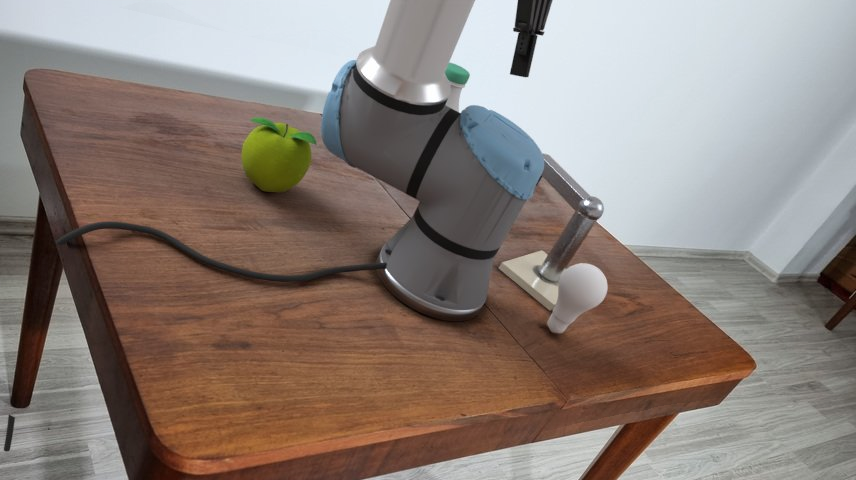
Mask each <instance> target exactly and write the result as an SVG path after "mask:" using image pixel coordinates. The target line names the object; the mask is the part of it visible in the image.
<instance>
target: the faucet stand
mask: <svg viewBox="0 0 856 480" xmlns="http://www.w3.org/2000/svg"><path fill="white" fill-rule="evenodd" d="M547 256H548V253H546V252H545V251H544V250H542V249H540V250H538V251H534V252H531V253H529V254H525V255H522V256H518V257H515V258H512V259H509V260H504V261H502V262H501V263H500V265H499V267H498V270H499V271H501V272H502V273H503V274H504V275H506V276H507V277H508V278H509V279H511V280H512V281H513V282H514V283H515V284H517V285H518V286H519V287H520V288H522V290H524V291H525V292H526V293H528V295H530V296H531V297H532V298H534V299H535V301H537V302H539V303H540V305H542V306H543V307H545V309H547V310H548V311H553V308H554V306H555V304H556V302H557V299H558V287H559V280H560V277H561V276H560V277H559V279H558V280H557V281H551V280H548V279H546V278H545V277H543V276H542V275H541V274H540V272H539V268H540V267H541V265H542V264H543V262H544V260H545V259H546V257H547ZM566 269H567V268H565V270H566ZM565 270H564V271H565ZM564 271H563V272H564ZM562 274H563V273H562ZM562 274H561V275H562Z"/></svg>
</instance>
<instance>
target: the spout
mask: <svg viewBox="0 0 856 480" xmlns="http://www.w3.org/2000/svg"><path fill="white" fill-rule="evenodd" d="M542 155H543V158H544V169H543V172H542V174H541V176H540V178H539V180H538V182H537V184H536V186H535V187H538V185H539V184H540V182H541V180H542V178H543V179H544V180H545V181H546V182H547V183H548V184H549V185H550V186H551V187H552V188H553V189H554V190H555V192H557V194H558V195H560V196H561V198H562V199H563V200H564V201H565V202H566V203H567V204H568V205H569V206H570V207H571V208H572V209H573V210H574V213H573V214H572V216H571V217H570V219H569V221H568V222H567V224H566V226H565V227H564V229H563V230H562V231H561V234H560V235H559V236H558V237H557V240H556V241H555V243H554V245H553V246H552V247H551V249H550V250H549V252H548V253H547V255H548V256H547V257H546V259H545V260H544V262H543V264H542V265H541V267H540V268H539V272H540V274H541V275H542V276H543V277H545V278H546V279H548V280H551V281H557V280H558V279H559V277H560V276H561V274H562V273H563V271H564V270H565V269H567V268H568V265H569V264H570V262H571V261H572V259H573V258H574V256H575V254H576V253H577V252H578V250H579V248H580V247H581V246H582V244H583V242H584V241H585V239H586V238H587V236H588V235H589V233H590V232H591V230H592V229H593V227H594V226H595V224H597V223H596V222H597V221H598V220H599V219H600V218H601V217H602V216H603V214H604V213H605V212H604V211H605V205H604V203H603V202H602V200H601V199H599V198H598V197H597V196H594V195H593V196H592V195H590V194H589V193H588V192H587V191H586V190H585V189H584V188H583V187H582V186H581V185H580V184H579V183H578V182H577V181H576V180H575V179H574V178H573V177H572V176H571V175H570V173H568V172H567V171H566V170H565V169H564V168H563V167H562V166H561V165H560V164H559V163H558V162H557V161H556V160H555V159H554V158H553V157H552V156H551V155H549V154H548V153H543V152H542Z"/></svg>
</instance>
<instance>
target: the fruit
mask: <svg viewBox="0 0 856 480" xmlns="http://www.w3.org/2000/svg"><path fill="white" fill-rule="evenodd" d="M250 121H251V122H254V123H256V124H258V125H259V126H257V127H255V128H254V129H252V131H251V132H249V134H248V135H247V137H246V138H245V140H244V141H243V145H242V148H241V159H240V160H241V165H242V168H243V171H244V173H245V175H246V178H248V180H249V181H250V182H251V183H252V184H253V185H255V186H256V187H258V189H259V190H260V191H263V192H265V193H266V192H268V193H283V192H286V191H288V190H291V189H292V188H294V187H296V186H297V185H298V184H299V183H300V182H301V181H302V180H303V179H304V177H305V176H306V174H307V173H308V170H309V169H310V166H311V162H312V148H311V145H310V144H313V145H315V146H317V140H316V139H315V136H314V135H313V134H311V132H308V131H301V130H299V129H297V128H295V127H294V128H293V127H291V126H290V125H289V123H288V122H287V123H284V122H273V121H272V120H270V119H268V118H266V117H262V116H261V117H260V116H256V117H251V118H250Z"/></svg>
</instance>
